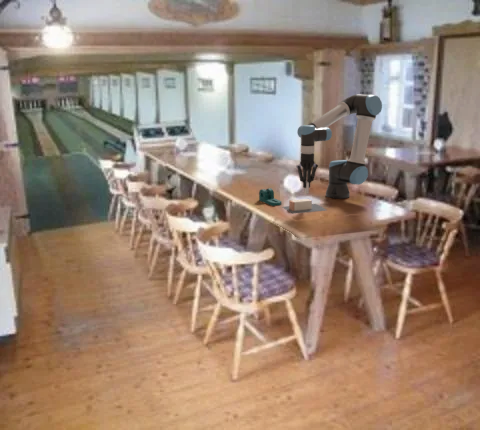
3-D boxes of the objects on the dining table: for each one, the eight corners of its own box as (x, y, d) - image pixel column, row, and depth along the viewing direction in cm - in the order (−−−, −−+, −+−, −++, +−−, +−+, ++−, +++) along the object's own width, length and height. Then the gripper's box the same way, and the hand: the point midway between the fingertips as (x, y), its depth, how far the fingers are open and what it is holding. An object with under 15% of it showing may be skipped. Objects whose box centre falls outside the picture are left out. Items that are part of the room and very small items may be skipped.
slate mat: (315, 204, 316) (315, 203, 316) (327, 211, 301) (327, 210, 301) (281, 207, 310) (281, 206, 310) (292, 214, 295) (292, 213, 295)
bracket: (259, 200, 328) (259, 188, 325) (268, 199, 331) (268, 187, 328) (273, 207, 312) (273, 194, 310) (283, 205, 315) (283, 192, 313)
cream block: (308, 198, 307) (289, 200, 304) (311, 200, 302) (292, 202, 299) (308, 206, 308) (289, 208, 305) (311, 209, 304) (292, 210, 301)
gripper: (315, 151, 302) (314, 191, 308) (294, 152, 298) (293, 192, 305) (320, 153, 295) (319, 193, 301) (299, 154, 291) (298, 195, 298)
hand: (306, 193), depth 303 cm, fingers closed
